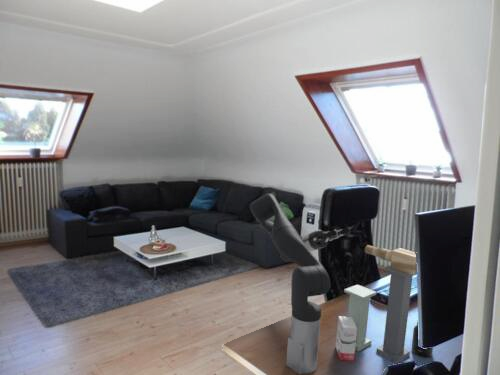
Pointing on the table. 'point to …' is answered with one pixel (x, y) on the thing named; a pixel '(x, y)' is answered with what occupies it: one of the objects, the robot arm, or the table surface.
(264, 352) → the table surface
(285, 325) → the table surface
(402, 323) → the tall stand
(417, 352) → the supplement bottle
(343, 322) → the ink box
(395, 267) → the wooden leg
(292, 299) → the robot arm
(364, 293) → the low stand
